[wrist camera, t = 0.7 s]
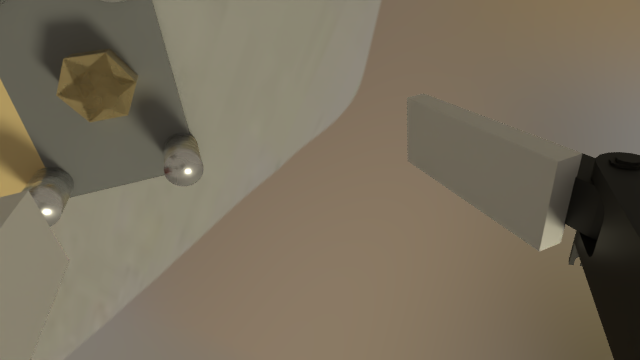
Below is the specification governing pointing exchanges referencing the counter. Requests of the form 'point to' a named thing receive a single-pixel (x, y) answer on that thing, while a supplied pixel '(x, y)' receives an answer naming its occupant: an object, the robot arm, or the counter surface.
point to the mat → (64, 122)
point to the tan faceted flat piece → (97, 84)
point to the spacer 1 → (50, 191)
